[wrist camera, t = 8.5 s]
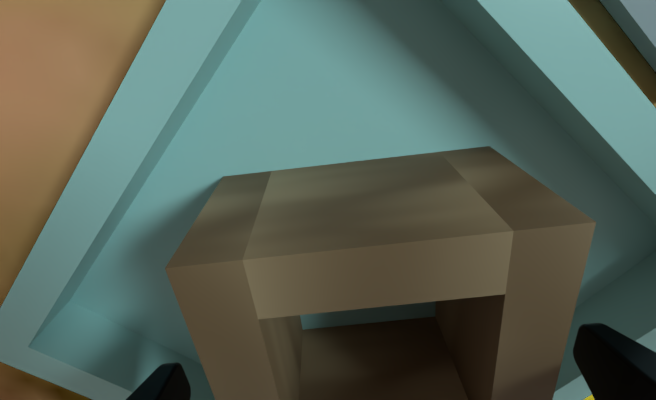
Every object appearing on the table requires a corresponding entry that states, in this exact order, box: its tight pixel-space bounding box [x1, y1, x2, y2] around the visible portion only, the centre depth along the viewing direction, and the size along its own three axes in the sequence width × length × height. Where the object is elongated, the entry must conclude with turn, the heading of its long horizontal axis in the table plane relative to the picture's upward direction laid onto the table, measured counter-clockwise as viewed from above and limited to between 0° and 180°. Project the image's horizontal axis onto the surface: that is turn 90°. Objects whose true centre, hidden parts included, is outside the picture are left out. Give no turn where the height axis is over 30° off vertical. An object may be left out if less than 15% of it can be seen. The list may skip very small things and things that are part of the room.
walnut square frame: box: [165, 146, 596, 400], centre depth 10 cm, size 7×9×4 cm
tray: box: [0, 0, 656, 400], centre depth 10 cm, size 15×15×2 cm
